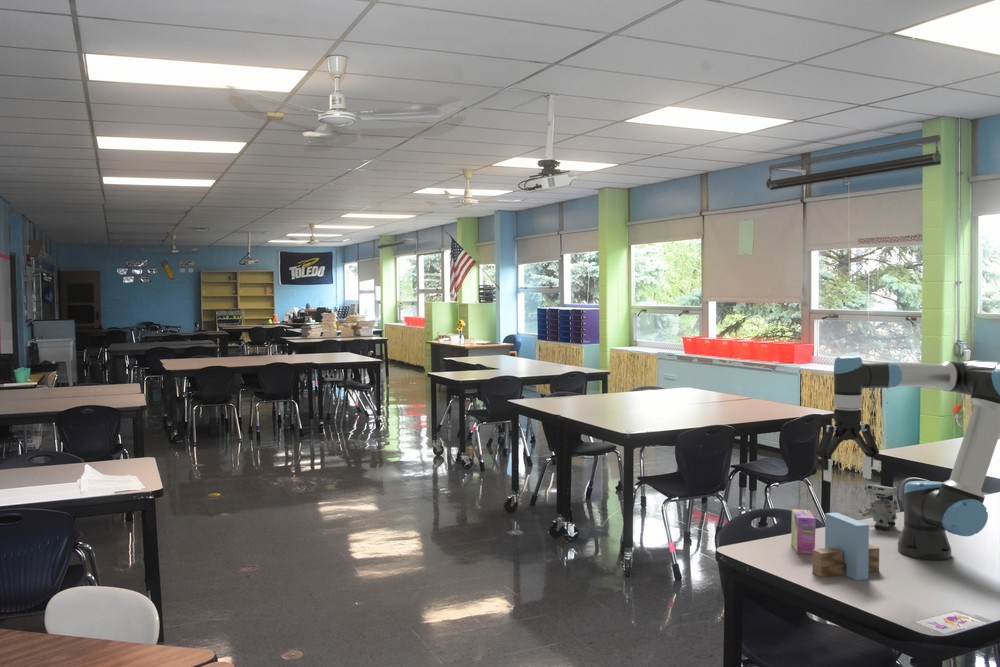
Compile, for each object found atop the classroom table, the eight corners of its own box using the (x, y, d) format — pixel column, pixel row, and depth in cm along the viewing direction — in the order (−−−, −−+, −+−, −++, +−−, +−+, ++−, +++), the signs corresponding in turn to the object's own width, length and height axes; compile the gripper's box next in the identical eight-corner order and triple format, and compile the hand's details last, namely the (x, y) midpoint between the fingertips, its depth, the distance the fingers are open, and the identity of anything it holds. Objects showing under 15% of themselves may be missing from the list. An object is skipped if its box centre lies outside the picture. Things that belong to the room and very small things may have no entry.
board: (824, 564, 235) (825, 513, 234) (836, 563, 236) (836, 512, 235) (856, 580, 221) (857, 525, 220) (868, 579, 222) (868, 524, 221)
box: (815, 554, 245) (815, 518, 244) (796, 553, 246) (796, 517, 245) (809, 544, 255) (809, 509, 254) (791, 543, 256) (791, 508, 256)
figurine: (866, 521, 283) (866, 480, 283) (900, 527, 275) (900, 485, 275) (857, 526, 276) (858, 484, 276) (891, 532, 269) (892, 490, 268)
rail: (869, 566, 233) (869, 544, 232) (879, 571, 229) (879, 548, 228) (812, 572, 228) (812, 549, 228) (821, 577, 224) (821, 553, 224)
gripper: (874, 405, 233) (874, 474, 234) (803, 408, 227) (802, 479, 228) (892, 408, 226) (892, 479, 227) (819, 411, 220) (819, 484, 221)
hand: (847, 479), depth 227 cm, fingers open, 13 cm apart
